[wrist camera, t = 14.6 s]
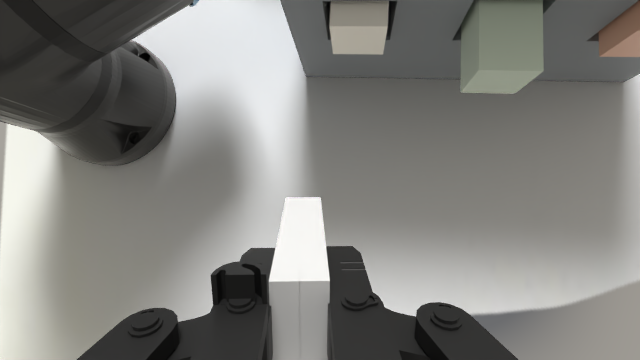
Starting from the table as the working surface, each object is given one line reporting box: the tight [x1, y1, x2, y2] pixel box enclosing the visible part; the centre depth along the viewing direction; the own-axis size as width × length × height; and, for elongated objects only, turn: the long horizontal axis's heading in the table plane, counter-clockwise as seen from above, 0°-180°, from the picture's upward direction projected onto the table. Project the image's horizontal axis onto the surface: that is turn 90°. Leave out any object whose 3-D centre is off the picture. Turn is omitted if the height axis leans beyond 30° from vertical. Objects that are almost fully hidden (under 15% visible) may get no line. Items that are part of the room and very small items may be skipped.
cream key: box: [329, 1, 389, 55], centre depth 29 cm, size 4×7×4 cm, turn 176°
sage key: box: [460, 0, 544, 94], centre depth 27 cm, size 4×7×4 cm, turn 176°
